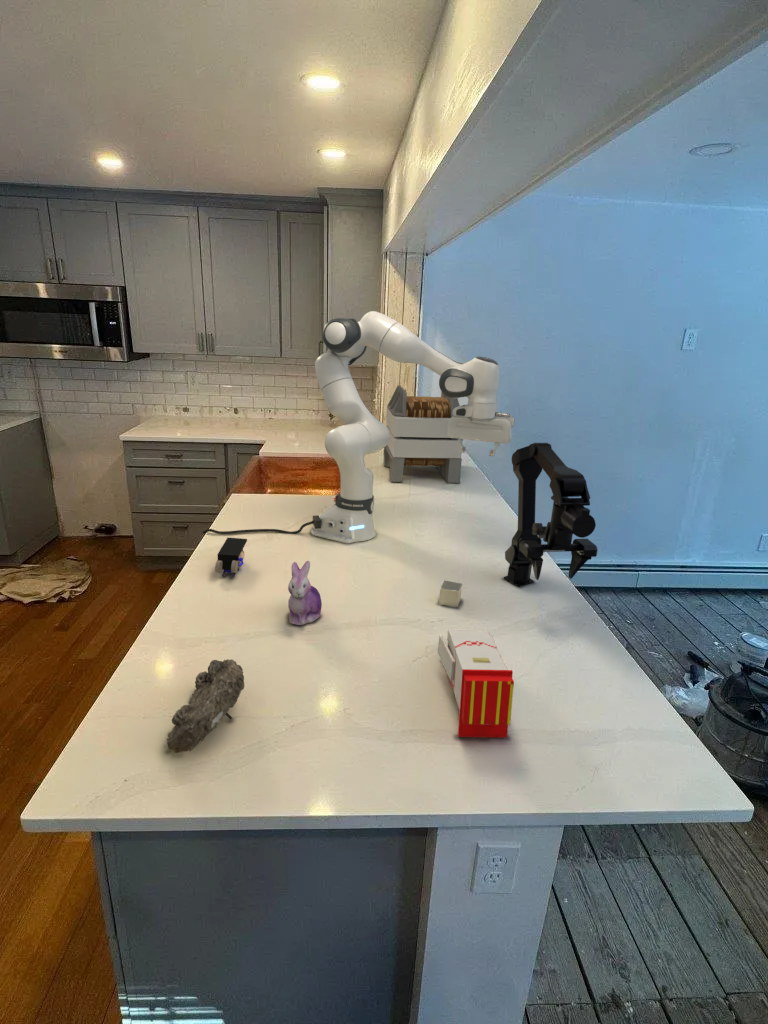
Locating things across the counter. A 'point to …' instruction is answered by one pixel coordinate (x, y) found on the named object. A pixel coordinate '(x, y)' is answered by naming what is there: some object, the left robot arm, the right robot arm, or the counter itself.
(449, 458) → the transformer
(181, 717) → the fossil
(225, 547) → the figurine character
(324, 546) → the counter surface
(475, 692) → the toy
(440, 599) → the beige cube
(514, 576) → the right robot arm
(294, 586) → the figurine
